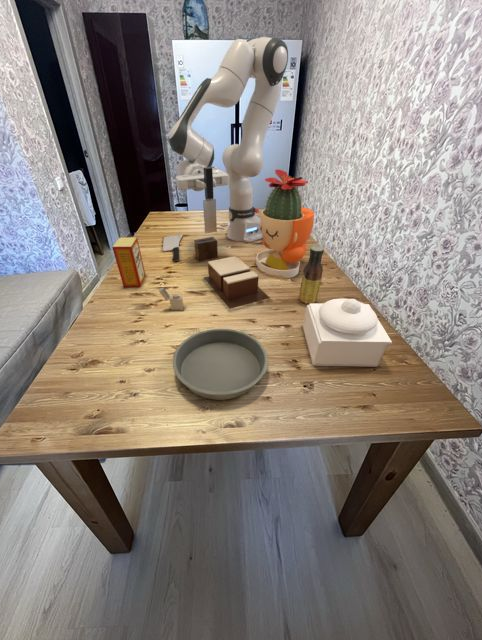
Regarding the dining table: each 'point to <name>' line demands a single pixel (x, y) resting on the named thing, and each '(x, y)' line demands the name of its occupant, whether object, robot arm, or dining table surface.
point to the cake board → (238, 300)
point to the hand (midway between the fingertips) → (209, 185)
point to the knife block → (206, 249)
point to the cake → (225, 269)
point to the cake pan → (220, 363)
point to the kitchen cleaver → (172, 245)
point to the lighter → (173, 300)
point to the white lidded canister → (344, 334)
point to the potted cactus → (284, 227)
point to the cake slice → (240, 284)
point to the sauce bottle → (312, 276)
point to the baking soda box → (129, 261)
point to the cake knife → (209, 203)
